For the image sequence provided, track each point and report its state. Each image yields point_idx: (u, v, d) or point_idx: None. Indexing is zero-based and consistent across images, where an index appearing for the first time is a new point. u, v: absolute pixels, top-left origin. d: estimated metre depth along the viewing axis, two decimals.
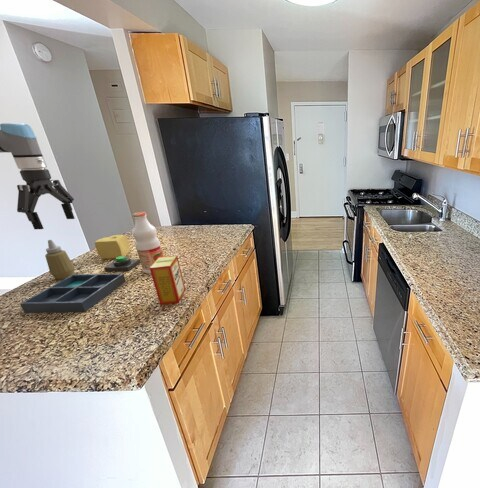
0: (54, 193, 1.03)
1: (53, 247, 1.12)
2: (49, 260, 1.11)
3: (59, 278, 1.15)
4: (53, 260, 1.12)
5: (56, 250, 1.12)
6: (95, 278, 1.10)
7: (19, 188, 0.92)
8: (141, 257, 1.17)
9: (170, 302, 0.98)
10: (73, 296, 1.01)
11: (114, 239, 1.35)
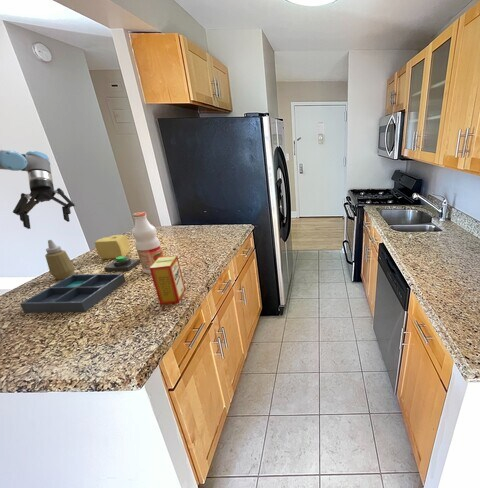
0: (35, 203, 1.17)
1: (53, 247, 1.12)
2: (49, 260, 1.11)
3: (59, 278, 1.15)
4: (53, 260, 1.12)
5: (56, 250, 1.12)
6: (95, 278, 1.10)
7: (61, 190, 1.20)
8: (141, 257, 1.17)
9: (170, 302, 0.98)
10: (73, 296, 1.01)
11: (114, 239, 1.35)
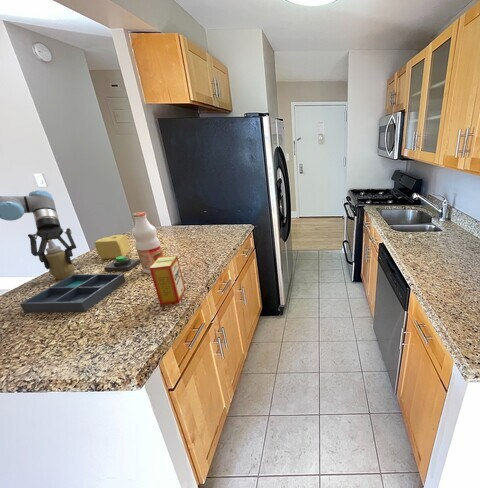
0: (46, 242, 1.15)
1: (53, 247, 1.12)
2: (49, 260, 1.11)
3: (59, 278, 1.15)
4: (53, 260, 1.12)
5: (56, 250, 1.12)
6: (95, 278, 1.10)
7: (70, 231, 1.20)
8: (141, 257, 1.17)
9: (170, 302, 0.98)
10: (73, 296, 1.01)
11: (114, 239, 1.35)
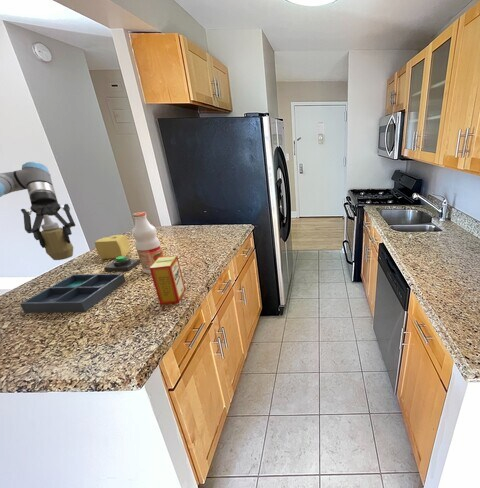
0: (42, 218, 1.03)
1: (49, 223, 1.00)
2: (44, 238, 0.99)
3: (56, 258, 1.03)
4: (50, 237, 1.00)
5: (53, 227, 1.00)
6: (95, 278, 1.10)
7: (68, 207, 1.08)
8: (141, 257, 1.17)
9: (170, 302, 0.98)
10: (73, 296, 1.01)
11: (114, 239, 1.35)
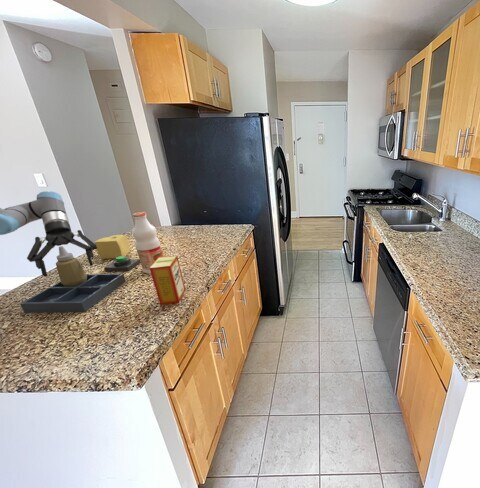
0: (51, 247, 1.04)
1: (64, 254, 1.02)
2: (60, 269, 1.01)
3: None
4: (65, 269, 1.02)
5: (68, 258, 1.02)
6: (95, 278, 1.10)
7: None
8: (141, 257, 1.17)
9: (170, 302, 0.98)
10: (73, 296, 1.01)
11: (114, 239, 1.35)
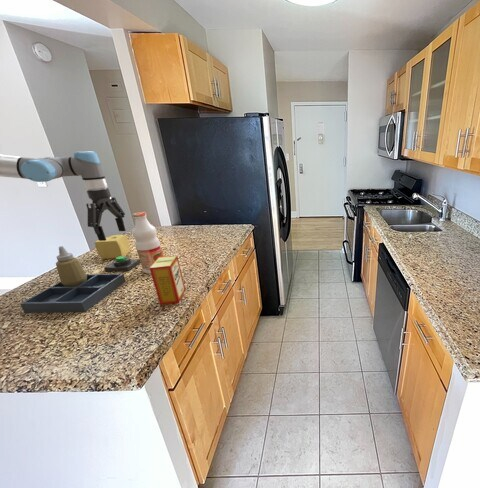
0: None
1: (64, 254, 1.02)
2: (60, 269, 1.01)
3: None
4: (65, 269, 1.02)
5: (68, 258, 1.02)
6: (95, 278, 1.10)
7: None
8: (141, 257, 1.17)
9: (170, 302, 0.98)
10: (73, 296, 1.01)
11: (114, 239, 1.35)
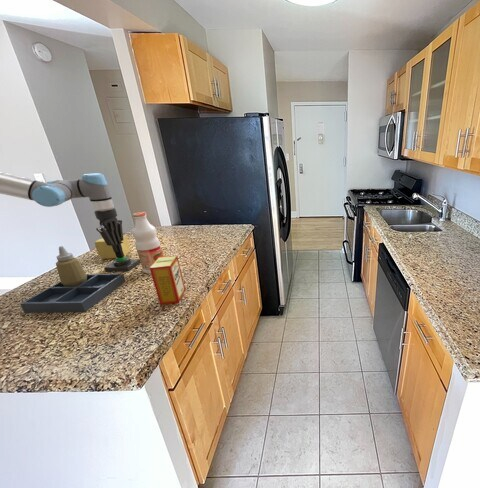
0: None
1: (64, 254, 1.02)
2: (60, 269, 1.01)
3: None
4: (65, 269, 1.02)
5: (68, 258, 1.02)
6: (95, 278, 1.10)
7: None
8: (141, 257, 1.17)
9: (170, 302, 0.98)
10: (73, 296, 1.01)
11: None
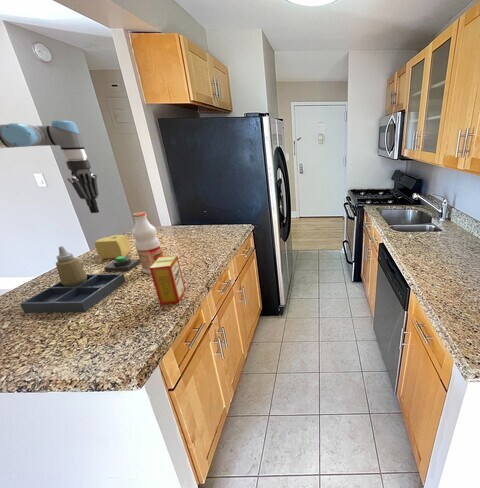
0: None
1: (64, 254, 1.02)
2: (59, 269, 1.01)
3: None
4: (65, 269, 1.02)
5: (68, 258, 1.02)
6: (95, 278, 1.10)
7: None
8: (141, 257, 1.17)
9: (170, 302, 0.98)
10: (73, 296, 1.01)
11: (114, 239, 1.35)
